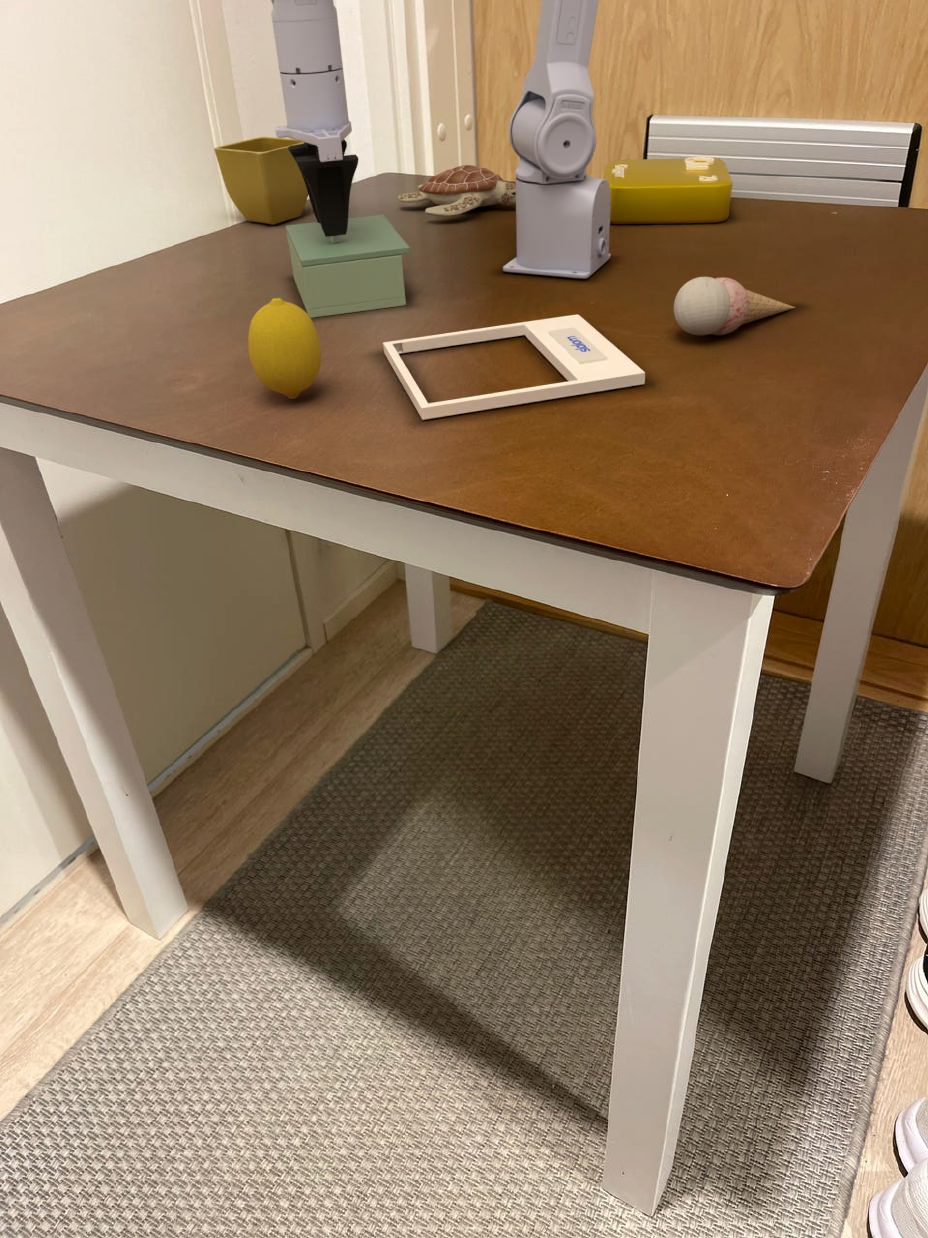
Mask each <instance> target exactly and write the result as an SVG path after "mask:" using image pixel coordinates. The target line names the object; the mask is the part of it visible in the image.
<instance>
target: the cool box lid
mask: <svg viewBox="0 0 928 1238" xmlns="http://www.w3.org/2000/svg"><path fill="white" fill-rule="evenodd" d="M285 230H286V231H285V232H286V234H287V233H288V236H289V238H290V240H291V243H292V245H293V247H294V250H295V252H296V254H297V257H298V259H299V262H300V264H301V266H302V267H303V266H311V265H319V264H327V263H335V262H343V261H352V260H360V259H368V258H376V257H384V256H392V255H400V254H401V255H406V254H410V253H411V252H410V249H411V248H410V246H409V245H408V244H407V242H406V241H405V240H404V239H403V237H402V236H401V235H400V234H399V233H398V231H397V230H396V229H395V227H394V226H393V225H392V224H391V223H390V221H389V220H388V219H387V217H386V216H385V215H384V214H373V215H365V216H357V217H356V216H355V217H348V226H347V233H346V235H338V236H330V237H326V236H325V234H324V232H323V230H322V227H321V224H320V223H318V222H317V221H313V222H305V223H296V224H288V225H285Z"/></svg>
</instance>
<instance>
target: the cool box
mask: <svg viewBox="0 0 928 1238" xmlns="http://www.w3.org/2000/svg"><path fill="white" fill-rule="evenodd" d="M286 237H287V238H286V239H287V244H288V251H289V256H290V263H291V270H292V276H293V280H294V282H295V285H296V288H297V290H298V293H299V296H300V298H301V300H302V303H303V305H304V308H305V312H306V313H307V314H308V316H309V317H310V318H311V319H314V318H321V317H328V316H336V315H343V314H351V313H357V312H366V311H372V310H382V309H388V308H395V307H396V308H397V307H403V306H407V300H406V299H407V298H406V289H405V278H404V265H403V256H402V255H403V254H400V255H392V256H384V257H376V258H368V259H360V260H352V261H343V262H335V263H327V264H319V265H311V266H303V267H302V266H301V264H300V262H299V259H298V257H297V254H296V252H295V250H294V247H293V245H292V243H291V240H290V238H289V236H288V233H287V232H286Z"/></svg>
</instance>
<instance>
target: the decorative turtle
mask: <svg viewBox="0 0 928 1238" xmlns="http://www.w3.org/2000/svg"><path fill="white" fill-rule="evenodd" d="M417 189H418V191H411V192H406V193H405V192H404V193H401V194H399V195H398V197H397V199H398V201H399V202H402V203H408V204H412V203H417V202H422V201H431V202H432V203H434V204H435V205H436V206H431V207H427V208H425V211H424V213H425V214H427V215H430V216H438V217H454V216H458V215H462V214H464V213H467V212H469V211H472V210H474V209H477V208H480V207H489V206H496V205H504V206H512V205H516V182H515V183H514V182H509V181H506V180H505V181H504V180H503V178H502V176H500V175H499V174H497V173H495V172H494V171H492V170H490V169H488V168H485V167H479V166H476V165H471V164H464V165H459V166H455V167H453V168H449V169H447V170H444V171H442V172H440V173H438V174H436V175H433V176H431V177H430V178H429V179H427V180H426V181H425V182H424V183H421V184H419V185H418V186H417Z"/></svg>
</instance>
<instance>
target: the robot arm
mask: <svg viewBox="0 0 928 1238" xmlns="http://www.w3.org/2000/svg"><path fill="white" fill-rule="evenodd" d="M270 2H271V5H272V10H271V13H270V14H271V21H272V29H273V30H272V31H273V36H274V42H275V50H276V57H277V65H278V70H279V76H280V84H281V90H282V97H283V103H284V104H283V105H284V112H285V118H286V125H280V126H275V127H274V132H275V136H276V138H285V139H286V138H288V139H295V140H298V141H302V142H304V144H299V145H292V146H289V147H288V150H289V151H290V153H291V154H292V156H293V158H294V159H295V161H296V163H297V165H298V167H299V169H300V172H301V174H302V177H303V179H304V182H305V185H306V188H307V192H308V198H309V202H310V205H311V208H312V212H313V214H314V217H315V220H316V222H318V223H320V224H321V227H322V230H323V232H324V234H325V236H326V237H330V236H338V235H346V233H347V226H348V218H349V213H350V211H349V209H350V196H351V189H352V184H353V179H354V176H355V174H356V171H357V168H358V165H359V157H358V156H357V154H346V150H347V147H348V143H347V141H346V138H347V137H348V136H349V135H350V134H351V133H352V131H353V127H352V122H351V121H350V119H349V118H350V117H349V111H348V101H347V92H346V91H347V90H346V84H345V73H344V66H343V57H342V47H341V46H342V45H341V38H340V30H339V29H340V28H339V19H338V11H337V8H336V6H335V2H334V0H270ZM599 3H600V0H541V6H540V15H539V21H538V28H537V37H536V42H535V43H536V44H535V49H534V50H535V51H534V59H533V62H532V65H530V68H529V70H528V72H527V74H526V76H525V78H524V79H523V85H522V91H521V97H520V100H519V102H518V104H517V106H516V108H515V109H514V111H513V112H512V115H511V116H510V120H509V124H508V139H509V143H510V146H511V148H512V150H513V151H514V153H515V155H516V156H518V157H519V161H518V165H517V167H516V169H515V184H516V204H515V216H516V217H515V225H516V226H515V227H516V229H515V232H516V233H515V234H516V236H515V237H516V239H515V240H516V257H514V258H513V259H511V260H510V261H508V262H507V263H506V264H505V265H503V266H502V271H503V272H506V273H516V274H525V275H526V274H527V275H538V276H548V277H549V276H550V277H559V278H570V279H571V278H572V279H583V280H585V279H588V278H590V277H591V276H592V275H593V274H594V273H595V272H596V271H597V270H599V269H600V268H601V267H602V266H603V265H604V264H606V263H607V262H608V261H609V260H610V259H611V253H610V231H611V230H610V228H611V224H610V208H611V194H610V187H609V183H608V181H607V180H605V179H604V178H600V177H593V176H590V175H589V174H588V166H589V164H590V162H592V159H593V157H594V155H595V153H596V148H597V131H596V128H595V124H594V123H595V122H594V118H593V112H594V111H593V110H594V102H595V93H594V92H595V91H594V89H593V85H592V81H591V78H590V73H589V65H590V57H591V51H592V45H593V39H594V33H595V26H596V20H597V15H598V7H599ZM345 154H346V155H345Z"/></svg>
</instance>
